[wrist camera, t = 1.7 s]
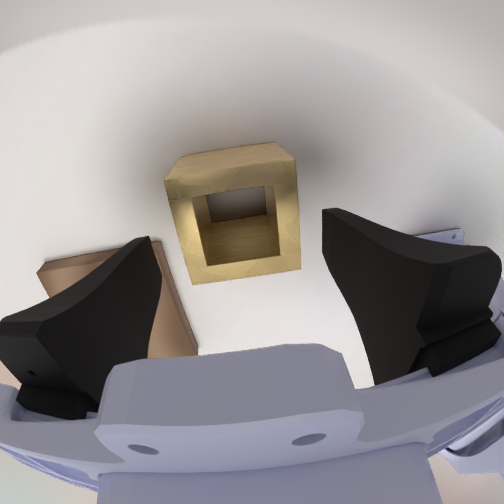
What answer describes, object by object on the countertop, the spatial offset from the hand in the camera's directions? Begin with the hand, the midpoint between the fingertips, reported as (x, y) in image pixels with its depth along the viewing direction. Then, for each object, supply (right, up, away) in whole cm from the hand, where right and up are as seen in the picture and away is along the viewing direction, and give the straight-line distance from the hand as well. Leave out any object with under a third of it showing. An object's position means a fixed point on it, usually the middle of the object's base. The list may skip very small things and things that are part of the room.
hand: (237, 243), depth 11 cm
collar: (0, +3, +6) cm, 7 cm away
